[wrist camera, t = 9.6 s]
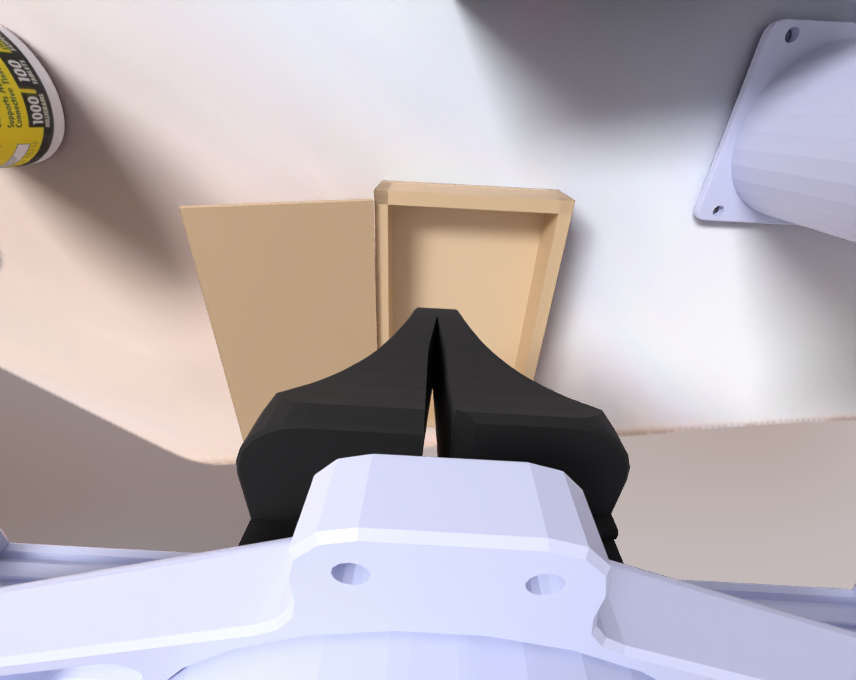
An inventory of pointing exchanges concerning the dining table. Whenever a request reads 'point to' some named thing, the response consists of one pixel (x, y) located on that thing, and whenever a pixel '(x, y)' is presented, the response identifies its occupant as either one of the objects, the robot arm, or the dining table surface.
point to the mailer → (471, 261)
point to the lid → (285, 292)
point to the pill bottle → (26, 106)
